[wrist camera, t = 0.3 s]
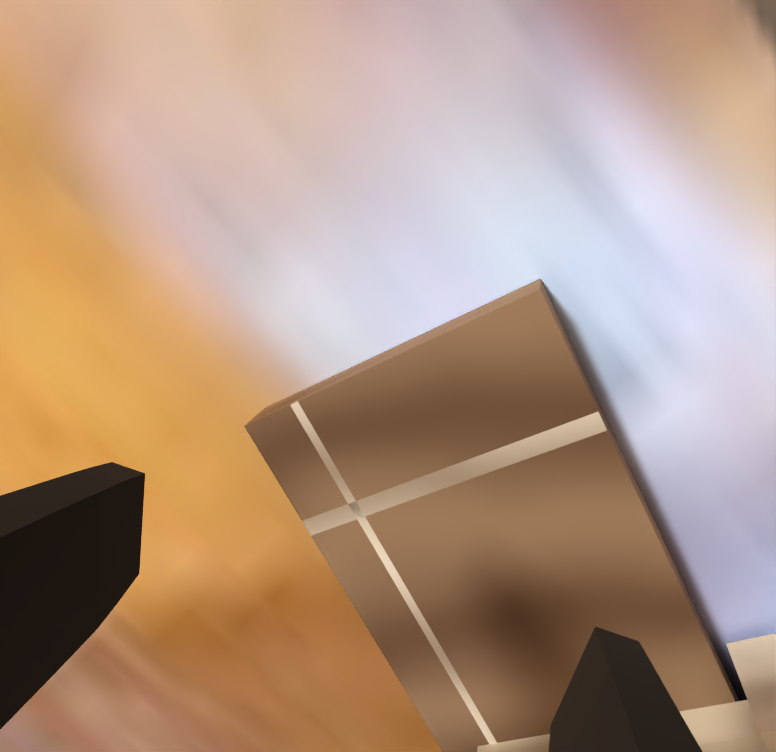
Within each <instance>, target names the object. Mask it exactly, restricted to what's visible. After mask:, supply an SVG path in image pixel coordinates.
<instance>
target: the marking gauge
mask: <svg viewBox="0 0 776 752" xmlns="http://www.w3.org/2000/svg"><path fill="white" fill-rule="evenodd" d="M726 645H727V647H728V650H729V653H730V655H731V658H732V661H733V663H734V666H735V668H736V671H737V674H738V676H739V679H740V681H741V684H742V687H743V689H744V692H745V695H746V697H747V700H743V701H737V702H732V703H726V704H720V705H714V706H708V707H703V708H697V709H691V710H685V711H679V712H680V714H681V715H682V717H683V719H684V721H685V722H686V724H687V726H688V728H689V729H690V731H691V733H692V735H693V736H694V738H695V740H696V741H697V743H698V745H699V746H700V748H701V750H702V752H776V633H775V634H770V635H765V636H760V637H756V638H751V639H746V640H741V641H736V642H731V643H727V644H726ZM549 739H550V734H546V735H540V736H534V737H528V738H522V739H517V740H511V741H505V742H499V743H493V744H488V745H482V746H478V748H477V752H549Z"/></svg>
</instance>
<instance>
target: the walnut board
mask: <svg viewBox="0 0 776 752" xmlns="http://www.w3.org/2000/svg"><path fill="white" fill-rule="evenodd" d="M245 428H246V430H247V431H248V433H249V435H250V436H251V438H252V440H253V441H254V443H255V444H256V446H257V448H258V449H259V451H260V453H261V454H262V456H263V458H264V459H265V461H266V463H267V464H268V466H269V467H270V469H271V471H272V472H273V474H274V476H275V477H276V479H277V481H278V482H279V484H280V485H281V487H282V489H283V490H284V492H285V494H286V495H287V497H288V499H289V500H290V502H291V504H292V505H293V507H294V508H295V510H296V512H297V513H298V515H299V517H300V518H301V520H302V522H303V523H304V525H305V527H306V528H307V530H308V532H309V533H310V535H311V536H312V538H313V540H314V541H315V543H316V545H317V546H318V548H319V549H320V551H321V553H322V554H323V556H324V558H325V559H326V561H327V563H328V564H329V566H330V568H331V569H332V571H333V572H334V574H335V576H336V577H337V579H338V581H339V582H340V584H341V586H342V587H343V589H344V590H345V592H346V594H347V595H348V597H349V599H350V600H351V602H352V604H353V605H354V607H355V609H356V610H357V612H358V613H359V615H360V617H361V618H362V620H363V622H364V623H365V625H366V627H367V628H368V630H369V632H370V633H371V635H372V636H373V638H374V640H375V641H376V643H377V645H378V646H379V648H380V650H381V651H382V653H383V654H384V656H385V658H386V659H387V661H388V663H389V664H390V666H391V668H392V669H393V671H394V673H395V674H396V676H397V677H398V679H399V681H400V682H401V684H402V686H403V687H404V689H405V691H406V692H407V694H408V695H409V697H410V699H411V700H412V702H413V704H414V705H415V707H416V709H417V710H418V712H419V714H420V715H421V717H422V718H423V720H424V722H425V723H426V725H427V727H428V728H429V730H430V732H431V733H432V735H433V737H434V738H435V740H436V741H437V743H438V745H439V746H440V748H441V750H442V751H443V752H477V748H478V746H482V745H488V744H493V743H499V742H505V741H511V740H517V739H522V738H528V737H534V736H540V735H546V734H550V726H551V723H552V721H553V719H554V717H555V714H556V712H557V710H558V708H559V705H560V703H561V701H562V699H563V697H564V694H565V692H566V690H567V688H568V685H569V683H570V681H571V679H572V677H573V674H574V672H575V670H576V668H577V665H578V663H579V661H580V659H581V657H582V654H583V652H584V650H585V648H586V645H587V643H588V641H589V639H590V637H591V634H592V632H593V630H594V628H595V626H596V627H598V628H601V629H604V630H607V631H610V632H613V633H616V634H619V635H622V636H625V637H628V638H631V639H634V640H637V641H639V642H640V644H641V646H642V647H643V649H644V651H645V652H646V654H647V656H648V658H649V659H650V661H651V663H652V665H653V666H654V668H655V670H656V672H657V673H658V675H659V677H660V679H661V680H662V682H663V684H664V686H665V688H666V689H667V691H668V693H669V695H670V696H671V698H672V700H673V702H674V703H675V705H676V707H677V709H678V710H679V711H685V710H691V709H697V708H703V707H708V706H714V705H720V704H726V703H732V702H737V701H739V699H738V697H737V695H736V693H735V691H734V689H733V686H732V684H731V682H730V680H729V678H728V676H727V674H726V672H725V669H724V667H723V665H722V663H721V661H720V659H719V657H718V655H717V652H716V650H715V648H714V646H713V644H712V642H711V640H710V638H709V635H708V633H707V631H706V629H705V627H704V625H703V623H702V621H701V618H700V616H699V614H698V612H697V610H696V608H695V606H694V604H693V602H692V599H691V597H690V595H689V593H688V591H687V589H686V587H685V585H684V582H683V580H682V578H681V576H680V574H679V572H678V570H677V568H676V565H675V563H674V561H673V559H672V557H671V555H670V553H669V551H668V548H667V546H666V544H665V542H664V540H663V538H662V536H661V534H660V531H659V529H658V527H657V525H656V523H655V521H654V519H653V517H652V514H651V512H650V510H649V508H648V506H647V504H646V502H645V500H644V497H643V495H642V493H641V491H640V489H639V487H638V485H637V483H636V481H635V478H634V476H633V474H632V472H631V470H630V468H629V466H628V464H627V461H626V459H625V457H624V455H623V453H622V451H621V449H620V447H619V444H618V442H617V440H616V438H615V436H614V434H613V432H612V430H611V427H610V425H609V423H608V421H607V419H606V417H605V415H604V413H603V410H602V408H601V406H600V404H599V402H598V400H597V398H596V396H595V393H594V391H593V389H592V387H591V385H590V383H589V381H588V379H587V376H586V374H585V372H584V370H583V368H582V366H581V364H580V362H579V360H578V357H577V355H576V353H575V351H574V349H573V347H572V345H571V343H570V340H569V338H568V336H567V334H566V332H565V330H564V328H563V326H562V323H561V321H560V319H559V317H558V315H557V313H556V311H555V309H554V306H553V304H552V302H551V300H550V298H549V296H548V294H547V292H546V289H545V287H544V285H543V283H542V281H541V279H539V280H537V281H534V282H532V283H530V284H528V285H526V286H524V287H522V288H519V289H517V290H515V291H513V292H511V293H509V294H507V295H505V296H502V297H500V298H498V299H496V300H494V301H492V302H490V303H488V304H485V305H483V306H481V307H479V308H477V309H475V310H473V311H471V312H468V313H466V314H464V315H462V316H460V317H458V318H456V319H454V320H451V321H449V322H447V323H445V324H443V325H441V326H439V327H437V328H434V329H432V330H430V331H428V332H426V333H424V334H422V335H420V336H417V337H415V338H413V339H411V340H409V341H407V342H405V343H403V344H400V345H398V346H396V347H394V348H392V349H390V350H388V351H385V352H383V353H381V354H379V355H377V356H375V357H373V358H371V359H368V360H366V361H364V362H362V363H360V364H358V365H356V366H354V367H351V368H349V369H347V370H345V371H343V372H341V373H339V374H337V375H334V376H332V377H330V378H328V379H326V380H324V381H322V382H320V383H317V384H315V385H313V386H311V387H309V388H307V389H305V390H303V391H300V392H298V393H296V394H294V395H292V396H290V397H288V398H286V399H283V400H281V401H279V402H277V403H275V404H273V405H271V406H268V407H266V408H264V409H263V410H262V411H261V412H260V413H259V414H258V415H257V416H255V417H254V418H253V419H252V420H251V421H250V422H249V423H247V424H246V425H245Z"/></svg>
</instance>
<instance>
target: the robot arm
mask: <svg viewBox="0 0 776 752" xmlns="http://www.w3.org/2000/svg"><path fill="white" fill-rule="evenodd" d="M144 481H145V473H142V472H139V471H136V470H133V469H130V468H127V467H124V466H121V465H118V464H116V463H113V462H111V463H107V464H103V465H99V466H95V467H91V468H88V469H84V470H81V471H78V472H74V473H71V474H68V475H65V476H61V477H58V478H55V479H52V480H49V481H46V482H42V483H39V484H36V485H33V486H30V487H27V488H24V489H20V490H17V491H14V492H11V493H8V494H5V495H1V496H0V729H1V728H2V727H3V726H4V725H5V724H6V723H7V722H8V721H9V720H10V719H11V718H12V717H13V716H14V715H15V714H16V713H17V712H18V711H19V710H20V709H21V708H22V707H23V705H24V704H25V703H26V702H27V701H28V700H29V699H30V698H31V697H32V696H33V695H34V694H35V693H36V692H37V691H38V690H39V689H40V688H41V687H42V686H43V685H44V684H45V683H46V682H47V681H48V680H49V679H50V678H51V677H52V676H53V675H54V674H55V673H56V672H57V670H58V669H59V668H60V667H61V666H62V665H63V664H64V663H65V662H66V661H67V660H68V659H69V658H70V657H71V656H72V655H73V654H74V653H75V652H76V651H77V650H78V649H79V647H80V646H81V645H82V644H83V643H84V642H85V641H86V640H87V639H88V638H89V637H90V636H91V635H92V634H93V633H94V632H95V630H96V629H97V628H98V627H99V626H100V625H101V623H102V622H103V621H104V619H105V618H106V617H107V616H108V614H109V613H110V612H111V611H112V609H113V608H114V607H115V605H116V604H117V603H118V602H119V600H120V599H121V597H122V596H123V595H124V593H125V592H126V591H127V589H128V588H129V587H130V585H131V584H132V583H133V581H134V580H135V578H136V577H137V576H138V574H139V568H140V551H141V533H142V516H143V499H144ZM549 752H702V750H701V748H700V746H699V745H698V743H697V741H696V740H695V738H694V736H693V735H692V733H691V731H690V729H689V728H688V726H687V724H686V722H685V721H684V719H683V717H682V715H681V714H680V712H679V710H678V709H677V707H676V705H675V703H674V702H673V700H672V698H671V696H670V695H669V693H668V691H667V689H666V688H665V686H664V684H663V682H662V680H661V679H660V677H659V675H658V673H657V672H656V670H655V668H654V666H653V665H652V663H651V661H650V659H649V658H648V656H647V654H646V652H645V651H644V649H643V647H642V646H641V644H640V642H639V641H637V640H634V639H631V638H628V637H625V636H622V635H619V634H616V633H613V632H610V631H607V630H604V629H601V628H598V627H596V626H595V628H594V630H593V632H592V634H591V637H590V639H589V641H588V643H587V645H586V648H585V650H584V652H583V654H582V657H581V659H580V661H579V663H578V665H577V668H576V670H575V672H574V674H573V677H572V679H571V681H570V683H569V685H568V688H567V690H566V692H565V694H564V697H563V699H562V701H561V703H560V705H559V708H558V710H557V712H556V714H555V717H554V719H553V721H552V723H551V726H550V739H549Z"/></svg>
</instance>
